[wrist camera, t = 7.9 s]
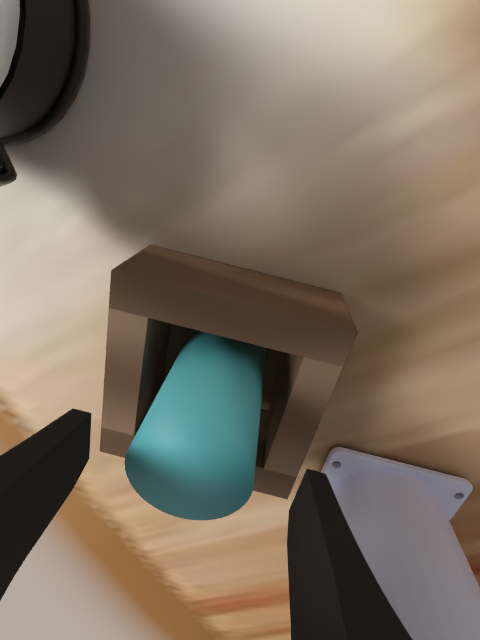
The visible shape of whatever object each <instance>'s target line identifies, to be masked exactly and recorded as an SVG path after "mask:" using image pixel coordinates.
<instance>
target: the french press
mask: <svg viewBox="0 0 480 640" xmlns="http://www.w3.org/2000/svg"><path fill="white" fill-rule="evenodd" d="M89 32H90V16H89V8H88V0H20V18H19V27H18V36H17V45H16V49H15V52H14V55H13V59H12V62H11V65H10V69H9V72H8V75H7V76H6V78H5V80H4V82H3V84H2V85H1V87H0V186H3V185H6V184H9V183H11V182H13V181H14V180H16V177H17V174H16V171H15V169H14V167H13V164H12V162H11V160H10V158H9V156H8V154H7V152H6V150H5V148H4V146H11V145H15V144H20V143H24V142H28V141H31V140H33V139H34V138H36V137H38V136H40V135H42V134H44V133H46V132H47V131H49V130H50V129H51V128H52V127H53V126H54V125H55V124H56V123H57V122H58V121H59V120H60V119H62V118H63V116H64V115H65V113H66V112H67V110H68V109H69V107H70V106H71V104H72V103H73V101H74V100H75V98H76V95H77V92H78V90H79V87H80V85H81V82H82V80H83V77H84V73H85V68H86V63H87V57H88V52H89Z"/></svg>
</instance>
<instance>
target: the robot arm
mask: <svg viewBox="0 0 480 640" xmlns="http://www.w3.org/2000/svg"><path fill="white" fill-rule="evenodd" d="M90 429H91V413H88V412H84V411H80V410H77V409H72V410H70V411H68V412H67V413H65V414H64V415H62V416H61V417H59V418H58V419H56V420H55V421H53V422H52V423H50V424H49V425H47V426H46V427H44V428H43V429H41V430H40V431H38V432H37V433H35V434H34V435H32V436H31V437H29V438H28V439H26V440H24V441H23V442H21V443H20V444H18V445H17V446H15V447H13V448H12V449H10V450H9V451H7V452H6V453H4V454H2V455H1V456H0V600H1V598H2V596H3V595H4V593H5V591H6V589H7V587H8V586H9V584H10V583H11V581H12V579H13V577H14V575H15V574H16V572H17V571H18V569H19V568H20V566H21V565H22V563H23V561H24V560H25V558H26V557H27V555H28V554H29V552H30V551H31V550H32V548H33V547H34V545H35V544H36V542H37V541H38V539H39V538H40V536H41V535H42V533H43V532H44V530H45V529H46V528H47V526H48V524H49V523H50V521H51V520H52V519H53V517H54V516H55V514H56V513H57V512H58V510H59V509H60V507H61V506H62V504H63V503H64V501H65V500H66V498H67V497H68V495H69V494H70V492H71V491H72V489H73V488H74V486H75V484H76V482H77V480H78V478H79V477H80V475H81V473H82V471H83V469H84V467H85V465H86V463H87V461H88V459H89V450H90ZM335 461H338V462H337V463H334V462H335ZM472 490H473V487H472V485H471V483H470V482H469V481H468V480H467V479H464V478H460V477H457V476H453V475H449V474H445V473H441V472H437V471H433V470H429V469H425V468H421V467H417V466H413V465H409V464H405V463H401V462H398V461H394V460H390V459H386V458H382V457H378V456H374V455H370V454H366V453H362V452H358V451H354V450H350V449H346V448H343V447H335V448H333V449H332V450H331V451H330V453H329V455H328V457H327V459H326V461H325V464H324V466H323V468H322V470H321V472H317V471H313V470H309V469H307V470H306V473H305V475H304V477H303V479H302V482H301V484H300V486H299V489H298V491H297V493H296V496H295V498H294V500H293V503H292V505H291V507H290V510H289V522H288V539H287V551H288V574H289V595H290V615H291V640H480V587H479V585H478V583H477V581H476V578H475V576H474V574H473V572H472V570H471V567H470V565H469V563H468V561H467V559H466V556H465V554H464V552H463V550H462V548H461V546H460V543H459V541H458V539H457V537H456V535H455V532H454V530H453V528H452V526H451V524H450V520H451V519H452V517H453V516H454V515H455V513H456V512H457V511H458V509H459V508H460V507H461V505H462V504H463V503H464V501H465V500H466V499H467V497H468V496H469V495H470V493H471V492H472Z"/></svg>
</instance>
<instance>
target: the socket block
mask: <svg viewBox="0 0 480 640" xmlns="http://www.w3.org/2000/svg"><path fill="white" fill-rule="evenodd" d="M171 324H175V325H179V326H183V327H187V328H190V329H194V330H198V331H202V332H206V333H210V334H214V335H218V336H222V337H226V338H230V339H234V340H238V341H242V342H246V343H250V344H254V345H258V346H262V347H266V348H270V349H274V350H278V351H281V352H285V353H286V356H285V359H284V362H283V365H282V369H281V372H280V375H279V378H278V381H277V384H276V387H275V390H274V393H273V396H272V399H271V402H270V405H269V408H268V411H267V410H264V409H261V411H260V422H259V433H258V444H257V455H256V465H255V476H254V486H253V491H257V492H261V493H265V494H269V495H273V496H277V497H281V498H285V499H288V497H289V494H290V492H291V489H292V487H293V485H294V482H295V480H296V478H297V475H298V473H299V470H300V468H301V466H302V463H303V461H304V459H305V456H306V454H307V451H308V449H309V447H310V444H311V442H312V440H313V437H314V435H315V432H316V430H317V428H318V425H319V423H320V421H321V418H322V416H323V413H324V411H325V409H326V406H327V404H328V402H329V399H330V397H331V394H332V392H333V390H334V387H335V385H336V383H337V380H338V378H339V375H340V373H341V371H342V368H343V366H344V364H345V361H346V359H347V356H348V354H349V352H350V349H351V347H352V345H353V342H354V340H355V337H356V335H357V333H358V332H357V330H356V327H355V325H354V323H353V320H352V318H351V315H350V313H349V311H348V308H347V306H346V304H345V301H344V299H343V297H342V294H341V293H339V292H335V291H331V290H327V289H323V288H319V287H315V286H311V285H307V284H303V283H299V282H295V281H291V280H287V279H283V278H279V277H275V276H271V275H267V274H263V273H259V272H255V271H251V270H247V269H243V268H239V267H235V266H232V265H228V264H224V263H220V262H216V261H212V260H208V259H204V258H200V257H196V256H192V255H188V254H184V253H180V252H176V251H172V250H168V249H164V248H160V247H156V246H152V245H149V246H148V247H146V248H145V249H143V250H142V251H140V252H139V253H137V254H135V255H134V256H132V257H131V258H129V259H128V260H126V261H125V262H123V263H122V264H120V265H119V266H117V267H116V268H114V269H113V270H111V284H110V299H109V315H108V331H107V346H106V362H105V378H104V394H103V409H102V425H101V441H100V451H101V452H105V453H109V454H113V455H116V456H120V457H124V458H125V457H126V453H127V450H128V448H129V447H130V445H131V443H132V441H133V439H134V437H135V435H136V433H137V432H138V430H139V428H140V426H141V424H142V422H143V420H144V418H145V417H146V415H147V413H148V411H149V409H150V407H151V405H152V403H153V402H154V400H155V398H156V396H157V394H158V392H159V390H160V389H161V387H162V385H163V384H162V379H163V372H164V366H165V359H166V353H167V346H168V340H169V333H170V326H171Z"/></svg>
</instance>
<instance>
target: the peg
mask: <svg viewBox="0 0 480 640" xmlns="http://www.w3.org/2000/svg"><path fill="white" fill-rule="evenodd" d="M265 357H266V347H262V346H258V345H254V344H250V343H246V342H242V341H238V340H234V339H230V338H226V337H222V336H218V335H214V334H210V333H206V332H202V331H198V330H194V329H192V330H191V332H190V334H189V336H188V338H187V340H186V342H185V344H184V345H183V347H182V349H181V351H180V353H179V355H178V357H177V359H176V360H175V362H174V364H173V366H172V368H171V370H170V372H169V374H168V375H167V377H166V379H165V381H164V383H163V385H162V387H161V389H160V390H159V392H158V394H157V396H156V398H155V400H154V402H153V403H152V405H151V407H150V409H149V411H148V413H147V415H146V417H145V418H144V420H143V422H142V424H141V426H140V428H139V430H138V432H137V433H136V435H135V437H134V439H133V441H132V443H131V445H130V447H129V448H128V450H127V453H126V457H125V469H126V474H127V477H128V479H129V481H130V483H131V485H132V486H133V488H134V489H135V490H136V492H137V493H138V494H139V495H140V496H141V497H142V498H143V499H144V500H145V501H147V502H148V503H149V504H151V505H152V506H154V507H155V508H157V509H159V510H161V511H163V512H165V513H167V514H170V515H173V516H176V517H180V518H185V519H190V520H212V519H217V518H222V517H225V516H228V515H230V514H232V513H234V512H236V511H237V510H239V509H240V508H241V507H242V506H243V505H244V504H245V503H246V502H247V501H248V499H249V497H250V496H251V493H252V491H253V486H254V476H255V465H256V455H257V444H258V433H259V422H260V411H261V400H262V389H263V378H264V368H265Z"/></svg>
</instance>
